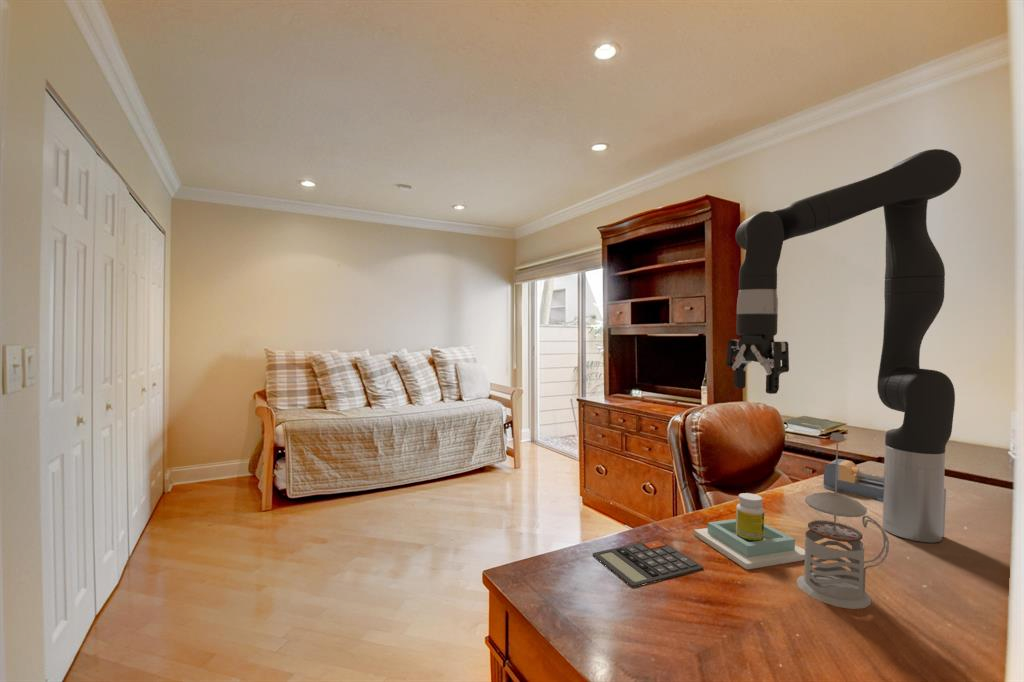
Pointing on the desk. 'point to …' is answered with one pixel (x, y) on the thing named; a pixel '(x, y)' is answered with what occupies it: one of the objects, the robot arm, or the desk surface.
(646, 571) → the calculator
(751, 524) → the supplement bottle
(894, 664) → the desk surface
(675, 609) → the desk surface
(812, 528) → the french press
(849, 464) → the vise
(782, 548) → the dock socket
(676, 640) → the desk surface
